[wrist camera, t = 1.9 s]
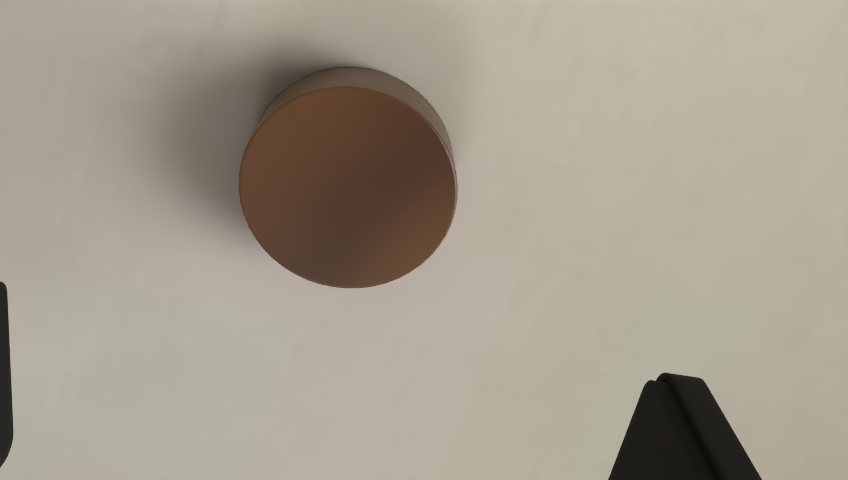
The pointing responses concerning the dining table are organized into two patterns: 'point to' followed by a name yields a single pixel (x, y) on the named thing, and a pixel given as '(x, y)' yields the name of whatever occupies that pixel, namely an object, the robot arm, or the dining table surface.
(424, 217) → the brown round disc
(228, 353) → the dining table surface
